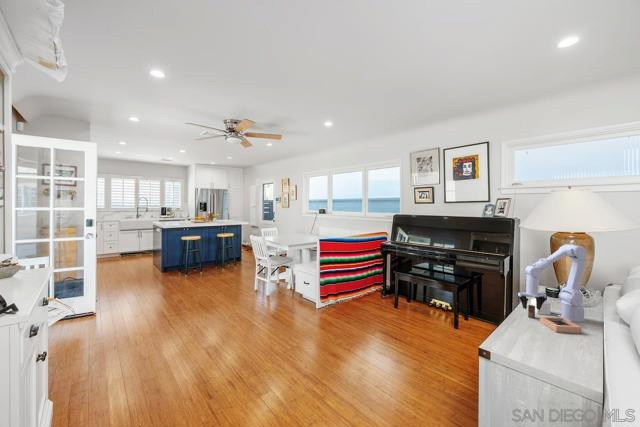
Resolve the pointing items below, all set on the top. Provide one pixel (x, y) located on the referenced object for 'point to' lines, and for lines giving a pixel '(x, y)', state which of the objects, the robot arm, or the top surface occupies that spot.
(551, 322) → the orange square tray
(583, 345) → the top surface
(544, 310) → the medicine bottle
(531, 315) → the wick peg
